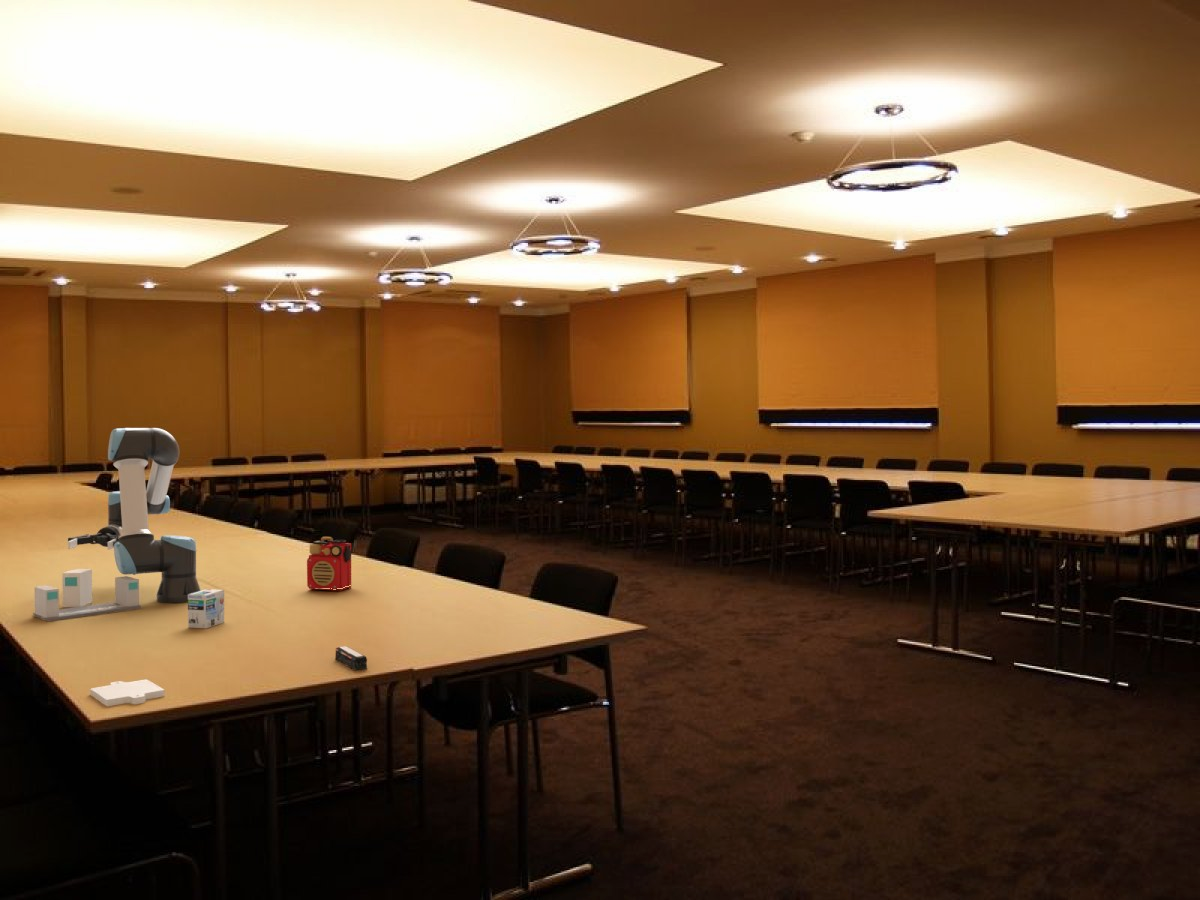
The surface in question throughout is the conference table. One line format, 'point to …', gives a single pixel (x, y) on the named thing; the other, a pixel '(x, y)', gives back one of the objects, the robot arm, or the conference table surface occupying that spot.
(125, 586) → the block
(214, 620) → the light bulb box
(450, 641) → the conference table surface
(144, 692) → the mounting plate
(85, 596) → the block
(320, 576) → the radio
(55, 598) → the block
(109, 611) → the rail board
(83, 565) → the conference table surface
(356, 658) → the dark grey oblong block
